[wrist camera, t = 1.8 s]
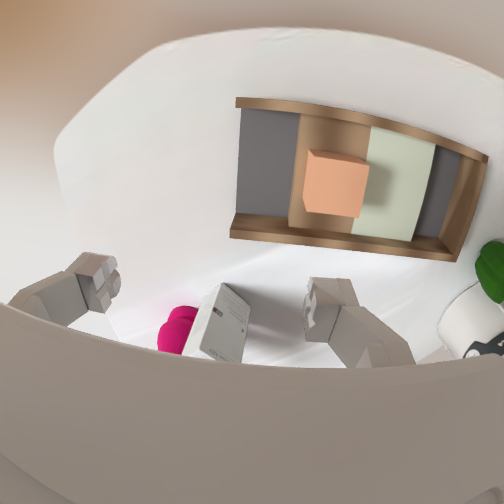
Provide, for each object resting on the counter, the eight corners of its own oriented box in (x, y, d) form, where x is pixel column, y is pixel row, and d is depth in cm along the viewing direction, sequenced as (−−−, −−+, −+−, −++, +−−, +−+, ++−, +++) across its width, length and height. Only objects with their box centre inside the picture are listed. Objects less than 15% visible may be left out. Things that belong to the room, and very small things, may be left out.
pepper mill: (165, 299, 40) (114, 412, 23) (210, 306, 40) (175, 429, 23) (170, 331, 44) (131, 434, 27) (211, 338, 44) (184, 448, 26)
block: (357, 157, 24) (369, 165, 21) (348, 202, 27) (358, 218, 24) (308, 149, 25) (314, 156, 21) (302, 196, 27) (306, 211, 24)
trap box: (465, 147, 24) (488, 156, 20) (438, 243, 31) (455, 262, 27) (242, 98, 25) (236, 97, 21) (236, 218, 32) (229, 238, 28)
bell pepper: (462, 259, 32) (495, 300, 24) (494, 224, 28) (532, 258, 20) (476, 286, 34) (503, 324, 26) (506, 254, 31) (537, 288, 22)
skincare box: (252, 305, 39) (243, 375, 29) (231, 320, 41) (218, 386, 30) (220, 280, 37) (200, 348, 27) (200, 296, 39) (177, 362, 29)
